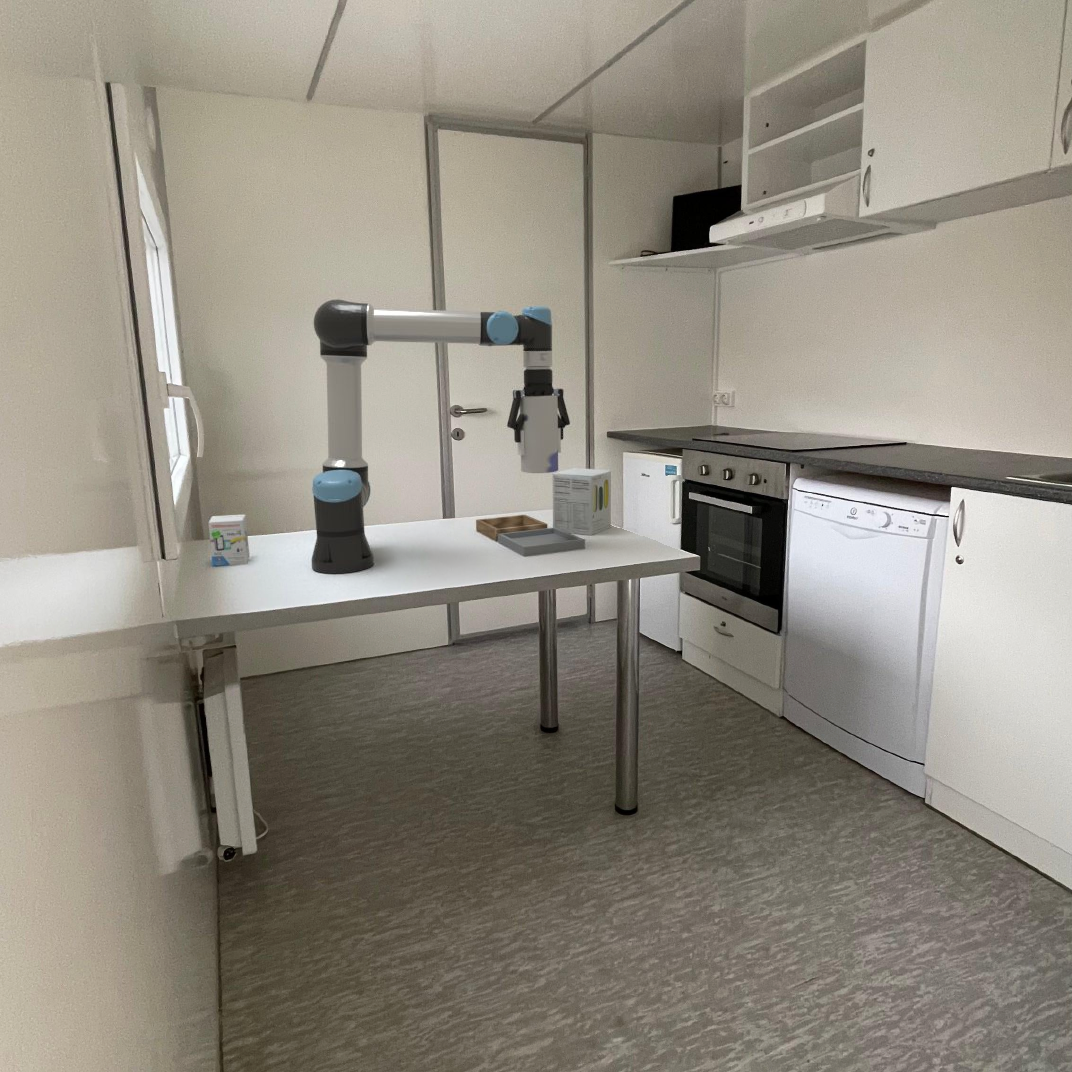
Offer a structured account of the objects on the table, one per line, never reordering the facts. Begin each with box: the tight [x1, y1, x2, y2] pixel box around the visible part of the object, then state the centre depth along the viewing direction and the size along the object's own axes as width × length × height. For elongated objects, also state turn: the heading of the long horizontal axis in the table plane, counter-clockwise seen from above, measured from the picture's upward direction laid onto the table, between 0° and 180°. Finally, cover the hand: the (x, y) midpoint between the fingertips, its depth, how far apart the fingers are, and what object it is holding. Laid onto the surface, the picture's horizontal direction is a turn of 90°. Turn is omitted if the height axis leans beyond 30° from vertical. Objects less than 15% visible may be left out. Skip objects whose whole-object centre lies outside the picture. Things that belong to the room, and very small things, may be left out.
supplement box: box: [552, 467, 612, 536], centre depth 231 cm, size 13×13×18 cm
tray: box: [497, 526, 586, 557], centre depth 213 cm, size 18×18×2 cm
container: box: [519, 394, 559, 474], centre depth 207 cm, size 10×10×20 cm
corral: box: [475, 514, 549, 543], centre depth 229 cm, size 16×16×4 cm
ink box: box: [207, 514, 250, 567], centre depth 201 cm, size 8×8×12 cm
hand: (539, 453), depth 208 cm, fingers closed on container, 10 cm apart
